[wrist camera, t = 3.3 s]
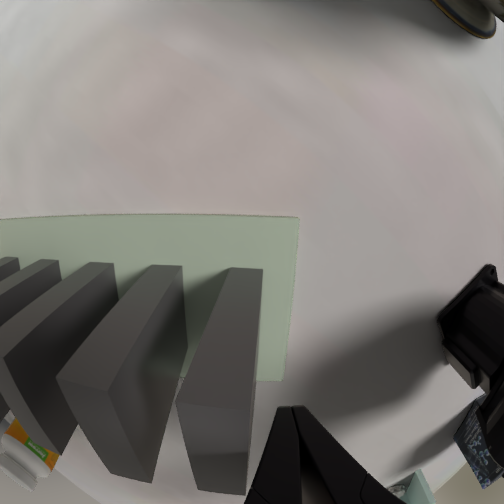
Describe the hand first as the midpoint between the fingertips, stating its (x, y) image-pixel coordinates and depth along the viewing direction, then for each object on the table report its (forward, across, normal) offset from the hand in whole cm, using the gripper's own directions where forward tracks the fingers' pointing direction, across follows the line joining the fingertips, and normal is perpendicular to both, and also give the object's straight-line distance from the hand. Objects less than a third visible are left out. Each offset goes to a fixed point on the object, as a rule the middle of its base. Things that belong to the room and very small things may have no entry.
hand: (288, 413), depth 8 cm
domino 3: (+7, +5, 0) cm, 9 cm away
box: (+8, -28, +17) cm, 33 cm away
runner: (+8, +14, 0) cm, 16 cm away
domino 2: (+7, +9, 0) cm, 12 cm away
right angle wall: (+8, -20, +36) cm, 42 cm away
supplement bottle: (+8, +20, +14) cm, 26 cm away
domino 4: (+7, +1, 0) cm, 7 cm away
